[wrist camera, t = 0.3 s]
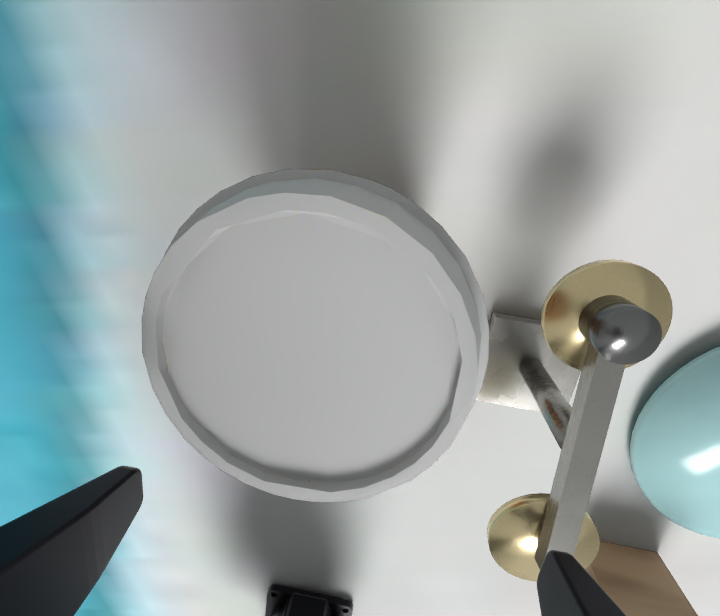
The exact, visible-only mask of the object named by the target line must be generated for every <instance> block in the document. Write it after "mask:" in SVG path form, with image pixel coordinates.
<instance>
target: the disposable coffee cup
mask: <svg viewBox="0 0 720 616" xmlns="http://www.w3.org/2000/svg"><path fill="white" fill-rule="evenodd" d="M142 353H143V357H144V360H145V364H146V367H147V371H148V374H149V378H150V381H151V385H152V388H153V390H154V392H155V394H156V396H157V398H158V400H159V402H160V404H161V406H162V408H163V410H164V412H165V414H166V415H167V416H168V418H169V419H170V420H171V421H172V423H173V424H174V425H175V427H176V428H177V429H178V431H179V432H180V433H181V435H182V436H183V437H184V438H185V440H186V441H187V442H188V443H190V444H191V445H192V446H193V447H194V448H195V449H196V450H197V451H198V452H199V453H200V454H201V455H202V456H203V457H204V458H205V459H207V460H208V461H209V462H211V463H212V464H214V465H215V466H216V467H218V468H219V469H220V470H222V471H224V472H226V473H227V474H229V475H231V476H233V477H234V478H236V479H238V480H240V481H241V482H243V483H245V484H247V485H250V486H252V487H255V488H257V489H260V490H263V491H265V492H268V493H270V494H274V495H278V496H282V497H286V498H290V499H296V500H304V501H311V502H344V501H350V500H356V499H363V498H369V497H371V496H374V495H377V494H379V493H382V492H384V491H387V490H390V489H392V488H394V487H397V486H399V485H401V484H404V483H406V482H409V481H411V480H412V479H414V478H415V477H416V476H418V475H419V474H421V473H422V472H423V471H425V470H426V469H428V468H429V467H430V466H432V464H433V463H434V462H435V461H436V460H437V459H438V458H439V457H440V456H441V455H442V454H443V453H444V452H445V451H446V450H447V449H448V448H449V447H450V446H451V444H452V442H453V441H454V439H455V437H456V436H457V434H458V432H459V430H460V429H461V427H462V425H463V423H464V422H465V420H466V418H467V416H468V413H469V412H470V410H471V409H472V407H473V405H474V403H475V401H476V398H477V396H478V394H479V391H480V389H481V387H482V384H483V380H484V375H485V371H486V367H487V363H488V358H489V325H488V320H487V314H486V308H485V302H484V296H483V294H482V292H481V290H480V287H479V285H478V283H477V281H476V279H475V276H474V274H473V272H472V270H471V267H470V265H469V263H468V261H467V258H466V256H465V255H464V254H463V252H462V251H461V250H460V249H459V247H458V246H457V245H456V244H455V242H454V241H453V240H452V239H451V237H450V236H449V235H448V233H447V232H446V231H445V230H444V228H443V227H442V226H441V225H440V224H439V223H438V222H436V221H435V220H434V219H433V218H432V217H431V216H430V215H429V214H428V213H426V212H425V211H424V210H423V209H422V208H421V207H419V206H418V205H417V204H416V203H414V202H413V201H411V200H410V199H408V198H406V197H404V196H402V195H401V194H399V193H397V192H395V191H394V190H392V189H390V188H388V187H386V186H383V185H381V184H379V183H377V182H375V181H372V180H369V179H365V178H361V177H357V176H354V175H350V174H346V173H343V172H339V171H335V170H321V169H286V170H281V171H276V172H271V173H267V174H262V175H257V176H252V177H250V178H248V179H246V180H244V181H242V182H239V183H237V184H235V185H233V186H231V187H229V188H226V189H224V190H222V191H220V192H219V193H218V194H216V195H215V196H214V197H212V198H211V199H210V200H208V201H207V202H206V203H204V204H203V205H202V206H201V207H199V208H198V209H197V210H196V211H195V212H194V213H193V214H192V215H191V216H190V218H189V219H188V220H187V221H186V222H185V223H184V224H183V225H182V226H181V228H180V229H179V230H178V232H177V234H176V235H175V237H174V239H173V241H172V242H171V244H170V246H169V248H168V249H167V251H166V253H165V255H164V257H163V260H162V261H161V263H160V264H159V266H158V268H157V269H156V271H155V272H154V275H153V277H152V280H151V283H150V286H149V289H148V291H147V294H146V297H145V303H144V309H143V315H142Z"/></svg>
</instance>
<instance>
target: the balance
mask: <svg viewBox="0 0 720 616" xmlns="http://www.w3.org/2000/svg"><path fill="white" fill-rule="evenodd" d="M671 319H672V300H671V297H670V294H669V291H668V289H667V287H666V286H665V284H664V283H663V282H662V281H661V280H660V279H659V277H658V276H656V275H655V274H654V273H652V272H651V271H649V270H647V269H645V268H643V267H641V266H638V265H636V264H633V263H631V262H627V261H622V260H601V261H595V262H592V263H588V264H586V265H583V266H580V267H578V268H577V269H575V270H573V271H571V272H570V273H568V274H567V275H565V276H564V277H563V278H562V279H561V280H560V281H559V282H558V283H557V284H556V285H555V286H554V287H553V289H552V290H551V291H550V293H549V294H548V296H547V298H546V300H545V302H544V305H543V308H542V312H541V320H536V319H530V318H525V317H519V316H513V315H507V314H501V313H495V312H493V314H492V318H491V321H490V325H489V358H488V363H487V367H486V371H485V375H484V380H483V384H482V387H481V389H480V391H479V394H478V396H477V398H476V400H478V401H484V402H489V403H495V404H500V405H505V406H511V407H516V408H522V409H527V410H532V411H538V412H541V413H542V415H543V417H544V418H545V420H546V422H547V424H548V426H549V428H550V430H551V432H552V433H553V435H554V437H555V439H556V441H557V443H558V445H559V446H560V448H561V449H562V450H561V454H560V458H559V462H558V466H557V470H556V474H555V478H554V482H553V486H552V490H551V494H542V493H540V494H529V495H524V496H520V497H518V498H515V499H512V500H510V501H508V502H507V503H505V504H504V505H502V506H501V507H500V508H499V509H497V511H496V512H495V513H494V514H493V516H492V517H491V519H490V521H489V523H488V527H487V538H488V543H489V548H490V551H491V554H492V556H493V558H494V560H495V561H496V562H497V564H498V565H499V566H500V567H502V568H503V569H504V570H505V571H507V572H508V573H510V574H512V575H514V576H516V577H519V578H522V579H526V580H530V581H537V578H538V574H539V572H540V569H541V567H542V564H543V562H544V559H545V557H546V554H547V552H548V551H550V550H557V551H562V552H567V553H569V554H571V555H572V556H573V557H574V558H575V559H576V560H577V561H578V562H579V563H580V564H581V565H582V567H583V568H584V569H586V568H587V567H588V566H589V565H590V564H591V563H592V562H593V560H594V559H595V557H596V556H597V553H598V551H599V546H600V538H599V534H598V531H597V529H596V527H595V525H594V523H593V521H592V519H591V517H590V516H589V514H588V513H587V512H586V509H587V505H588V501H589V498H590V494H591V490H592V487H593V483H594V479H595V475H596V472H597V468H598V464H599V461H600V457H601V453H602V450H603V446H604V442H605V438H606V435H607V431H608V427H609V424H610V420H611V416H612V412H613V409H614V405H615V401H616V398H617V394H618V390H619V387H620V383H621V379H622V375H623V372H624V369H625V368H627V367H630V366H632V365H634V364H636V363H638V362H640V361H642V360H644V359H646V358H647V357H649V356H650V355H651V354H652V353H653V352H654V351H655V350H656V349H657V347H658V346H659V344H660V343H661V341H662V340H663V339H664V337H665V335H666V333H667V331H668V329H669V326H670V323H671ZM580 372H581V375H580ZM579 375H580V379H579V383H578V387H577V391H576V395H575V399H574V403H573V407H572V408H571V406H570V405H569V401H570V398H571V396H572V393H573V390H574V388H575V385H576V383H577V380H578V377H579Z"/></svg>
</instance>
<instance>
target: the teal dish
mask: <svg viewBox="0 0 720 616" xmlns="http://www.w3.org/2000/svg"><path fill="white" fill-rule="evenodd" d="M630 461H631V467H632V471H633V473H634V476H635V479H636V481H637V483H638V485H639V486H640V488H641V490H642V491H643V493H644V494H645V495H646V497H647V498H648V499H649V501H650V502H651V503H652V504H653V506H654V507H655V508H656V509H657V510H658V511H660V512H661V513H662V514H663V515H664V516H665V517H667V518H668V519H670V520H671V521H673V522H674V523H676V524H678V525H680V526H682V527H684V528H686V529H688V530H691V531H694V532H697V533H699V534H703V535H707V536H711V537H715V538H720V346H719V347H716V348H714V349H712V350H710V351H708V352H706V353H704V354H702V355H700V356H698V357H697V358H695V359H693V360H692V361H690V362H689V363H687V364H686V365H684V366H683V367H681V368H680V369H678V370H677V371H676V372H675V373H674V374H673V375H671V376H670V377H669V378H668V379H667V380H665V381H664V382H663V384H662V385H661V386H660V387H659V388H658V389H657V390H656V391H655V392H654V393H653V395H652V396H651V397H650V399H649V400H648V401H647V403H646V404H645V405H644V407H643V409H642V411H641V413H640V414H639V416H638V418H637V421H636V424H635V426H634V429H633V432H632V437H631V442H630Z"/></svg>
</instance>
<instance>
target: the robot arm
mask: <svg viewBox="0 0 720 616" xmlns="http://www.w3.org/2000/svg"><path fill="white" fill-rule="evenodd" d="M142 501H143V487H142V474H141V471H140V469H138V468H134V467H129V466H120V467H117V468H115V469H113V470H111V471H109V472H107V473H105V474H103V475H101V476H99V477H97V478H95V479H93V480H91V481H90V482H88V483H86V484H84V485H82V486H80V487H78V488H76V489H74V490H72V491H70V492H68V493H66V494H64V495H62V496H60V497H58V498H56V499H54V500H52V501H50V502H48V503H46V504H44V505H42V506H40V507H38V508H36V509H34V510H32V511H30V512H28V513H26V514H24V515H22V516H21V517H19V518H17V519H15V520H13V521H11V522H9V523H7V524H5V525H3V526H1V527H0V616H74V615H75V613H76V612H77V610H78V609H79V607H80V606H81V604H82V603H83V602H84V600H85V599H86V597H87V596H88V594H89V593H90V591H91V590H92V588H93V587H94V585H95V584H96V582H97V581H98V579H99V578H100V576H101V575H102V573H103V571H104V570H105V568H106V566H107V564H108V563H109V561H110V559H111V557H112V556H113V554H114V552H115V550H116V549H117V547H118V545H119V543H120V542H121V540H122V538H123V537H124V535H125V533H126V531H127V530H128V528H129V526H130V524H131V523H132V521H133V519H134V517H135V516H136V514H137V512H138V510H139V508H140V506H141V504H142ZM537 590H538V596H539V602H540V609H541V615H542V616H626V615H625V613H624V612H623V611H622V610H621V609H620V608H619V607H618V606H617V604H616V603H615V602H614V601H613V600H612V599H611V598H610V597H609V596H608V594H607V593H606V592H605V591H604V590H603V589H602V588H601V587H600V586H599V584H598V583H597V582H596V581H595V580H594V579H593V578H592V577H591V575H590V574H589V573H588V572H587V571H586V570H585V569H584V568H583V567H582V565H581V564H580V563H579V562H578V561H577V560H576V559H575V558H574V557H573V556H572V555H571V554H569V553H567V552H562V551H557V550H550V551H548V552H547V554H546V557H545V559H544V562H543V564H542V567H541V569H540V572H539V574H538V578H537ZM352 610H353V604H352V603H351V602H349V601H346V600H342V599H337V598H333V597H328V596H324V595H319V594H314V593H310V592H305V591H301V590H296V589H292V588H287V587H283V586H278V585H271V586H270V588H269V591H268V594H267V606H266V616H352Z"/></svg>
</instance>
